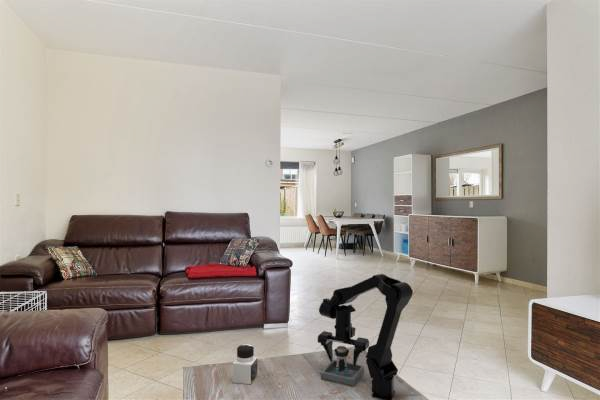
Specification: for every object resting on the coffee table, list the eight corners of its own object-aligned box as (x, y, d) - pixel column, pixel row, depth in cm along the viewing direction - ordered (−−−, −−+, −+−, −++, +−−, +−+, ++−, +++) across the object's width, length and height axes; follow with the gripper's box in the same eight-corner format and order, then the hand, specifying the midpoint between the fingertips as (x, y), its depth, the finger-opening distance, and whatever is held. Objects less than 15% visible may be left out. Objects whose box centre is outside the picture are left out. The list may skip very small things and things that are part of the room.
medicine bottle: (251, 384, 131) (251, 350, 131) (232, 382, 132) (232, 349, 133) (257, 375, 138) (257, 343, 138) (239, 373, 139) (239, 341, 140)
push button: (351, 371, 141) (351, 345, 141) (353, 377, 135) (353, 350, 136) (333, 371, 141) (333, 345, 141) (335, 378, 135) (335, 350, 136)
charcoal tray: (364, 372, 141) (364, 365, 141) (353, 386, 130) (353, 379, 130) (333, 365, 147) (333, 359, 147) (320, 379, 135) (320, 372, 136)
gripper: (373, 319, 142) (373, 360, 141) (328, 312, 150) (327, 351, 150) (364, 328, 132) (364, 372, 131) (317, 320, 140) (316, 361, 140)
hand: (342, 363), depth 138 cm, fingers open, 9 cm apart
